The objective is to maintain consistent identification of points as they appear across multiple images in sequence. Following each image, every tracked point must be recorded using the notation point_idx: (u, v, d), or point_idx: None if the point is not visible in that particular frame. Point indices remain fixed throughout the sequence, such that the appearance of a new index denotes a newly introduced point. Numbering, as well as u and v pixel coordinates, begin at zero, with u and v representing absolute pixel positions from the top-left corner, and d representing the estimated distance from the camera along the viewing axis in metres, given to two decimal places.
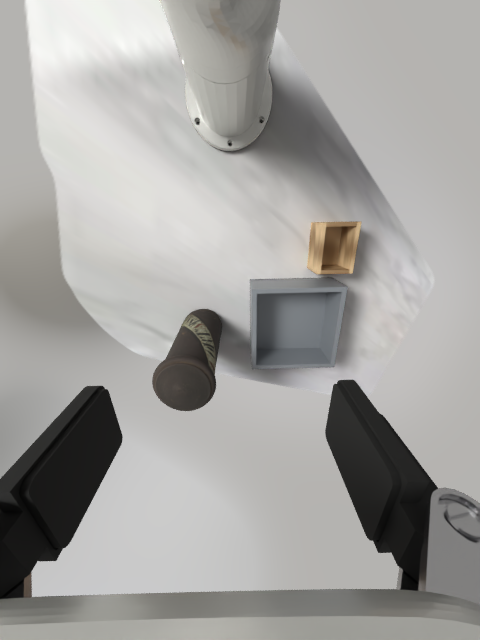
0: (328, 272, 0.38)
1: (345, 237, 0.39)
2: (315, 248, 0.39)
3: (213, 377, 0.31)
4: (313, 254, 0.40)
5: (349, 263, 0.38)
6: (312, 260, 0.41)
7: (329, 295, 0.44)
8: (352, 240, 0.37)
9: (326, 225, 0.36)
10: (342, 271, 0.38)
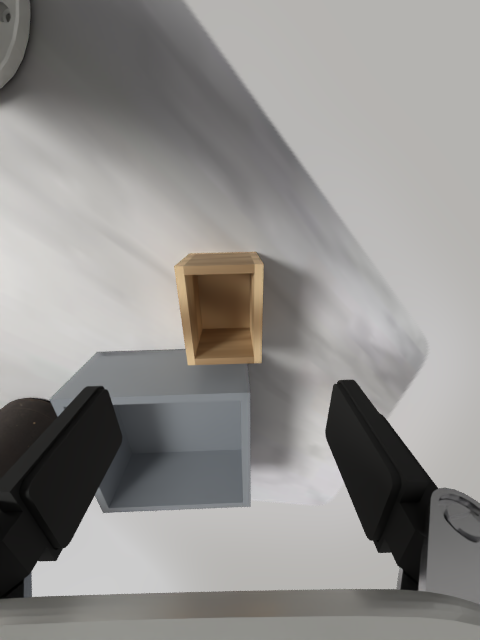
0: (211, 362, 0.19)
1: (251, 286, 0.20)
2: None
3: None
4: None
5: (253, 343, 0.18)
6: None
7: None
8: (253, 300, 0.17)
9: (184, 272, 0.16)
10: (239, 360, 0.19)
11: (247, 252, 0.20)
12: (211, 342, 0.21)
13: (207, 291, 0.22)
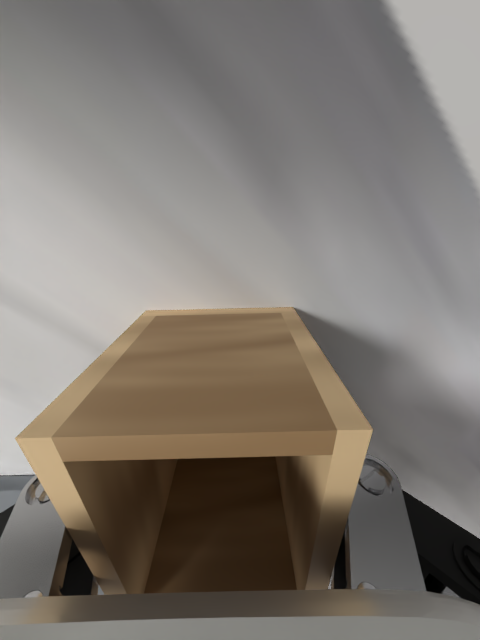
0: None
1: None
2: None
3: None
4: None
5: (300, 577, 0.07)
6: None
7: None
8: (309, 491, 0.06)
9: (63, 453, 0.04)
10: None
11: (275, 310, 0.09)
12: (192, 513, 0.09)
13: None
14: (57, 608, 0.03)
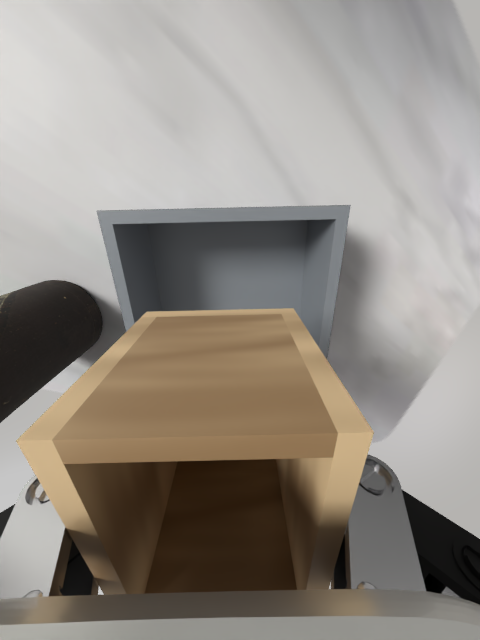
0: None
1: None
2: None
3: None
4: None
5: (300, 579, 0.07)
6: None
7: (310, 246, 0.20)
8: (310, 493, 0.06)
9: (64, 456, 0.04)
10: None
11: (276, 312, 0.09)
12: (192, 514, 0.09)
13: None
14: (57, 608, 0.03)
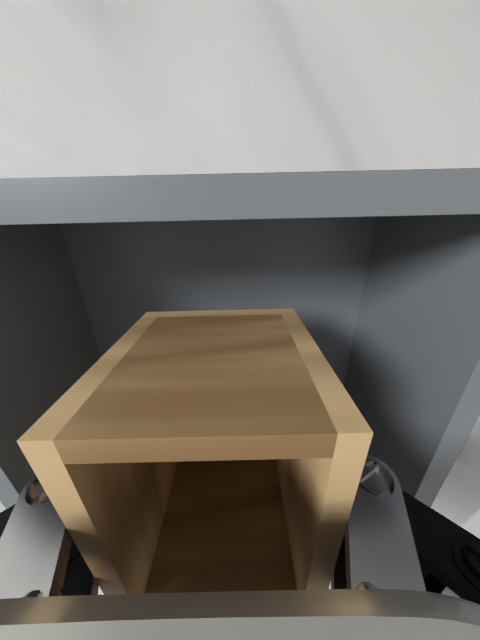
0: None
1: None
2: None
3: None
4: None
5: (300, 579, 0.07)
6: None
7: (382, 270, 0.10)
8: (309, 493, 0.06)
9: (64, 456, 0.04)
10: None
11: (276, 312, 0.09)
12: (192, 515, 0.09)
13: None
14: (57, 608, 0.03)
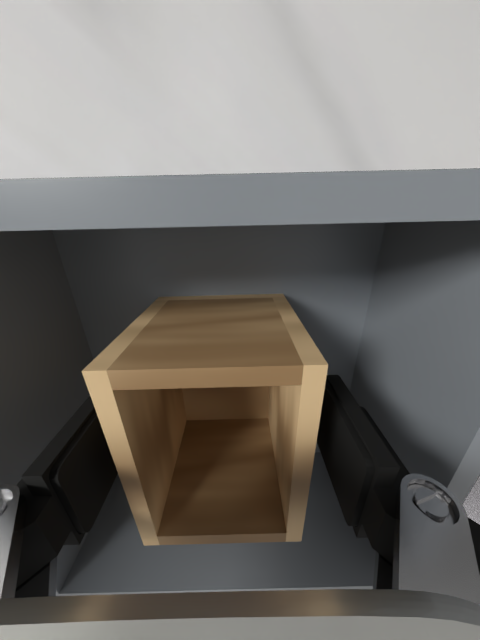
0: (193, 540, 0.09)
1: None
2: None
3: None
4: None
5: (285, 504, 0.08)
6: None
7: (391, 277, 0.10)
8: (290, 427, 0.07)
9: (113, 384, 0.06)
10: (255, 537, 0.09)
11: (268, 296, 0.11)
12: (198, 467, 0.11)
13: None
14: (57, 608, 0.03)
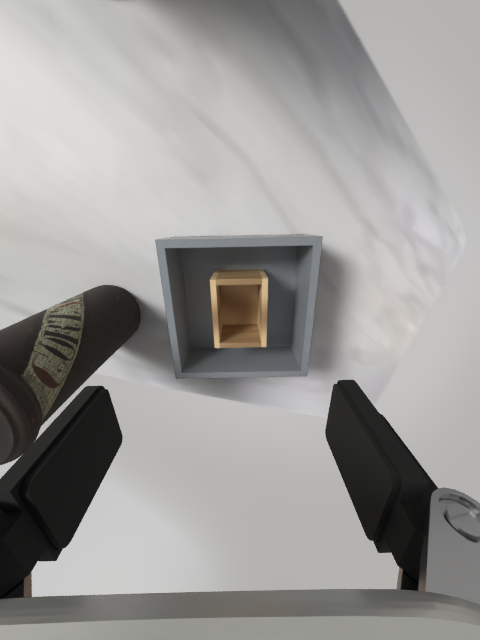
0: (231, 345, 0.26)
1: (259, 293, 0.28)
2: None
3: (17, 400, 0.14)
4: None
5: (261, 333, 0.26)
6: None
7: (299, 261, 0.28)
8: (261, 302, 0.25)
9: (216, 283, 0.24)
10: (251, 344, 0.26)
11: (256, 269, 0.29)
12: (230, 333, 0.29)
13: (227, 297, 0.30)
14: (57, 608, 0.03)
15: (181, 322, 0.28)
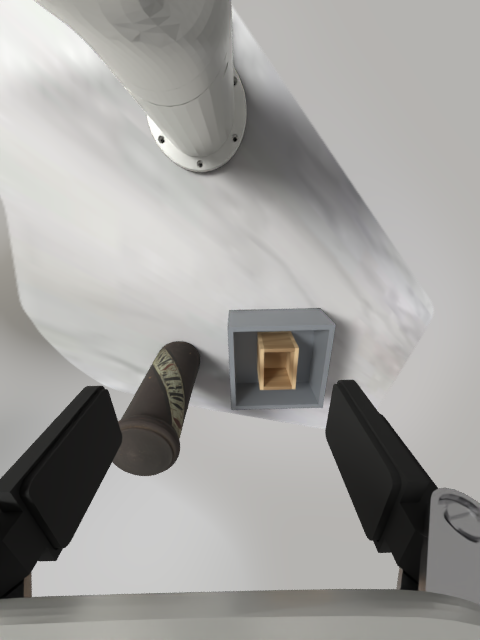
0: (271, 388, 0.39)
1: None
2: None
3: (175, 440, 0.26)
4: (258, 366, 0.40)
5: (291, 380, 0.38)
6: (258, 370, 0.41)
7: None
8: (292, 361, 0.37)
9: (264, 351, 0.36)
10: (285, 387, 0.39)
11: (286, 332, 0.41)
12: (268, 377, 0.41)
13: None
14: (57, 608, 0.03)
15: None
